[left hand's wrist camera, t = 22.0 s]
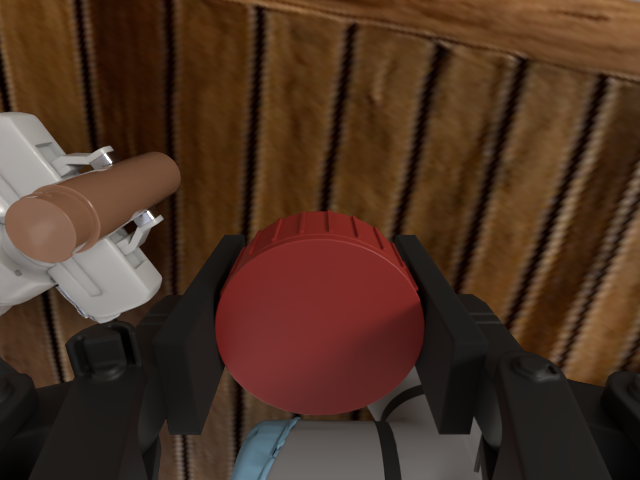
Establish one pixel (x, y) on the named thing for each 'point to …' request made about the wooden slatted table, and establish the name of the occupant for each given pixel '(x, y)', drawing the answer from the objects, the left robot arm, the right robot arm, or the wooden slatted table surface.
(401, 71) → the wooden slatted table surface
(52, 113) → the wooden slatted table surface
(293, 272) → the lid
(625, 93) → the wooden slatted table surface
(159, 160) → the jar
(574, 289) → the wooden slatted table surface
